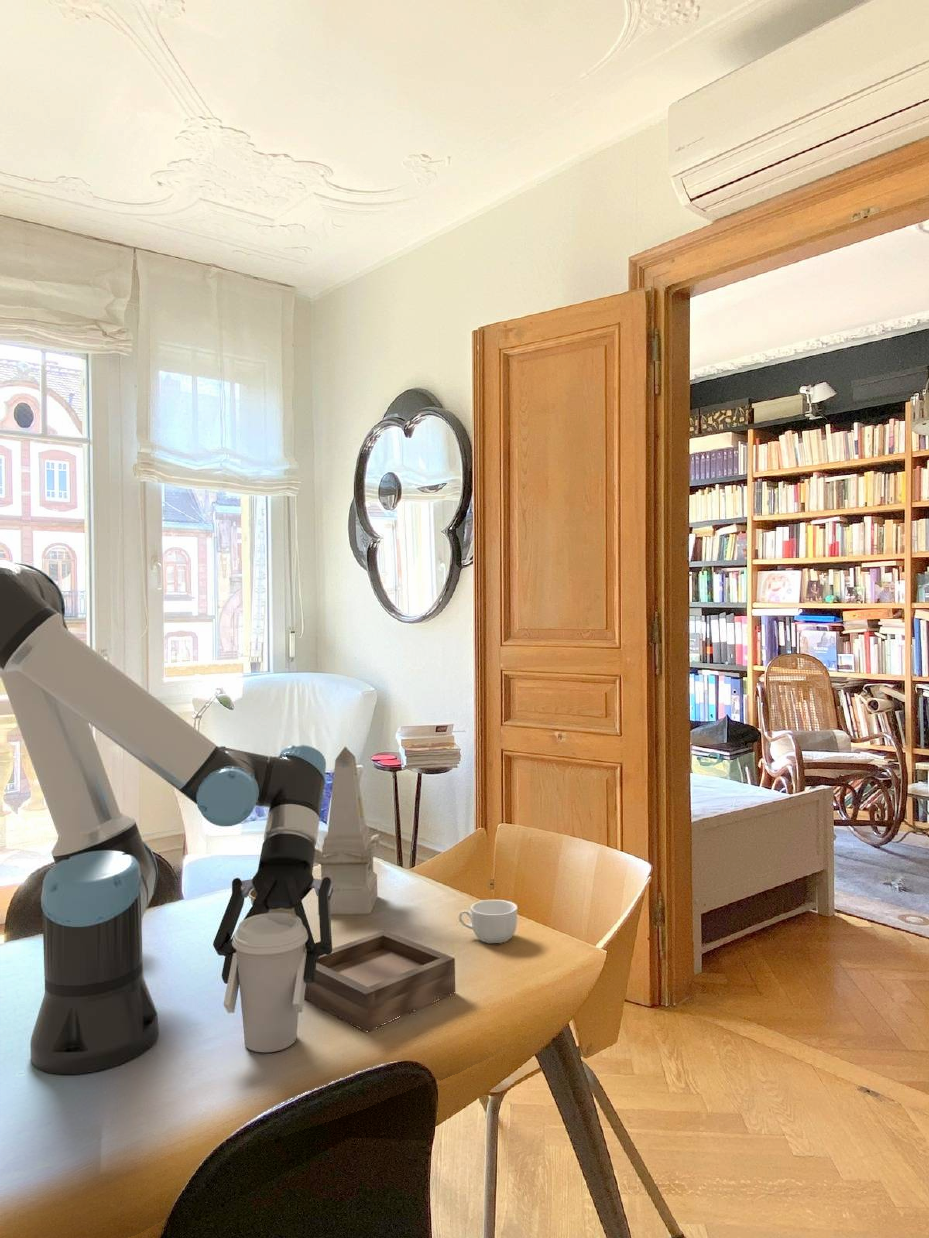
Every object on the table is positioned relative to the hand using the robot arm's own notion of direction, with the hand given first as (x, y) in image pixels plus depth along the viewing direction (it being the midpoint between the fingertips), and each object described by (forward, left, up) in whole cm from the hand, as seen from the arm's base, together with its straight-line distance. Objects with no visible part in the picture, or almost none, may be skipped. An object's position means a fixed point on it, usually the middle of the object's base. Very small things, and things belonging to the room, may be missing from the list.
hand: (263, 1008), depth 107 cm
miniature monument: (+40, +37, -6) cm, 55 cm away
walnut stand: (+20, +3, -6) cm, 22 cm away
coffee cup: (+2, +2, -6) cm, 7 cm away
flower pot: (+21, +31, -6) cm, 38 cm away
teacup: (+46, +6, -6) cm, 47 cm away
